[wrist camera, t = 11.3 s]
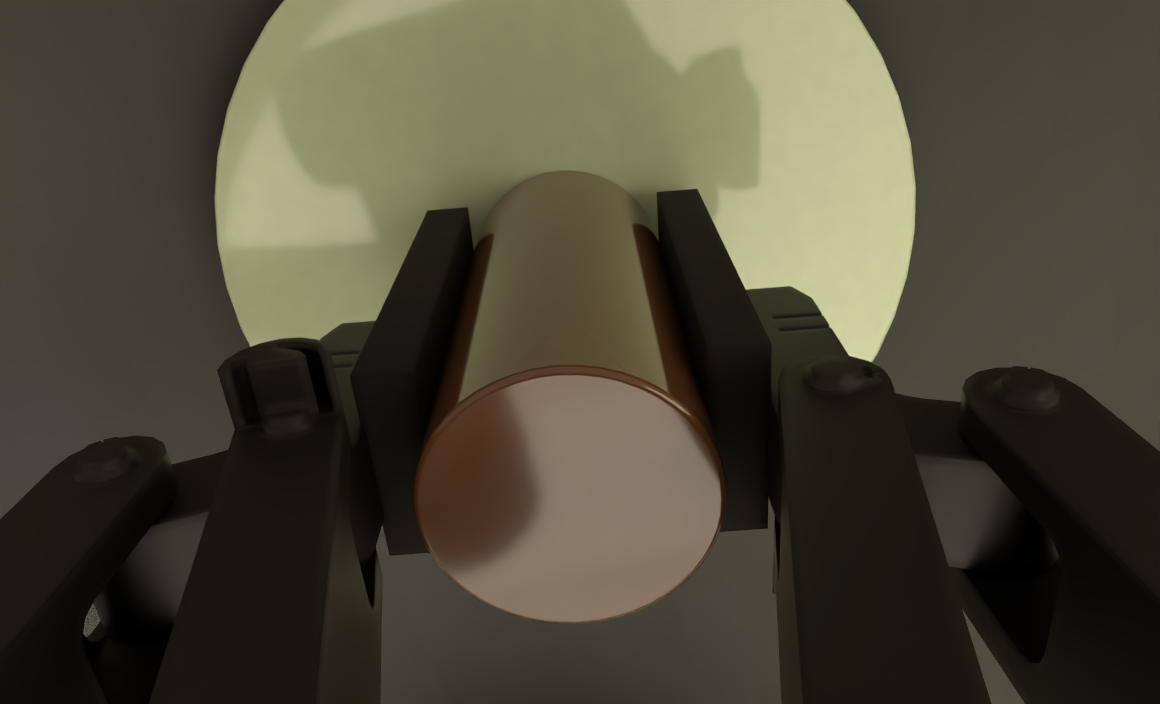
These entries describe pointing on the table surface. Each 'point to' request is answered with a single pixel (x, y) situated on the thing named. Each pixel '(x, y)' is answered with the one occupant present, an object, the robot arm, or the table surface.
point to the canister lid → (564, 245)
